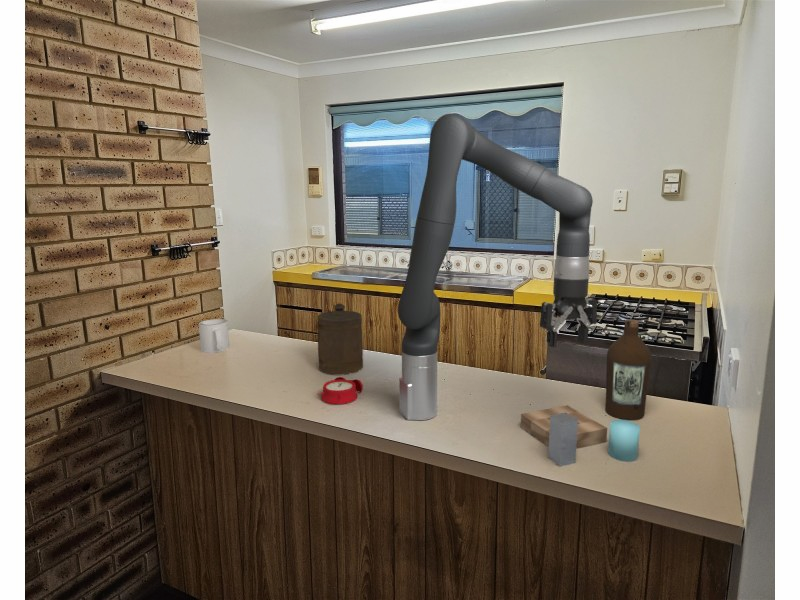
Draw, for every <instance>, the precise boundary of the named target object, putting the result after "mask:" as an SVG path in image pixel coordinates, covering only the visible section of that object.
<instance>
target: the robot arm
mask: <svg viewBox="0 0 800 600" xmlns="http://www.w3.org/2000/svg"><path fill="white" fill-rule="evenodd" d="M428 146H429V147H428V157H427V158H428V160H427V166H426V167H427V168H426V173H425V174H426V175H425V176H426V177H425V179H424V184H423V188H422V192H421V197H420V200H419V201H420V202H419V206H418V210H417V211H418V212H417V215H416V219H415V220H416V221H415V223H414V225H415V226H414V232H413V237H412V244H411V249H410V256H409V264H408V270H407V274H406V277H405V280H404V284H403V287H402V291H401V293H400V294H401V295H400V297H399V300H398V303H397V305H398V306H397V314H398V318H399V320H400V322H401V323H402V325H403V326H405V331H404V335H403V338H402V340H401V377H399V380H398V381H399V386H398V388H399V390H398V391H399V392H398V393H399V394H398V395H399V413H400V414H401V415H402V416H403V417H404V418H405V419H406V420H407V421H411V420H412V421H425V420H430V419H433V418H435V417H436V416H437V415H438V347H439V345H438V344H439V340H440V334H441V303H440V299H439V297H438V296H437V294H436V293H435V286H436V282H437V278H438V274H439V272H440V269H441V267H442V264H443V262H444V260H445V258H446V256H447V253H448V251H449V248H450V245H451V242H452V238H453V233H454V228H455V223H456V218H457V181H458V175H459V171H460V167H461V163H462V161H465V162H467V163H468V162H469V163H470V164H474V165H476V166H479V167H480V168H483V169H484V170H486V171H488V172H490V173H492V174H493V175H494V176H496V177H497V178H499V179H500V180H501V181H503V182H504V183H506V184H507V185H509V186H511V187H512V188H515V189H516V190H518V191H520V192H522V193H524V194H525V195H527V196H529V197H532V199H536V200H538V201H541V202H542V203H544V204H545V205H547V206H548V207H550V208H551V209H553V210H554V211H556V212H558V213H559V214H558V217H559V218H558V221H559V222H558V223H559V224H558V225H559V226H558V233H557V240H556V256H555V261H554V267H553V268H554V272H553V287H552V288H553V290H552V293H553V296H554V300H553V302H546V301H543V302H542V303H541V310H540V317H539V319H540V320H539V326H540V328H542V329H544V330H546V331H547V335H546V343H547V344H548V346H549V347H551V348H556V347H557V345H558V331H557V330H558V329H559V328H560V326H561V325H563V324H564V322H565V321H570V320H576V321H577V323H578V324H579V325H578V329H577V330H578V333H577V341H578V343H581V344H587V341H588V338H589V328H590V327H591V325H596V324H597V322H598V316H597V315H598V300H597V299H596V298H592V297H587V296H588V295H589V294H588V293H589V279H590V278H589V277H590V247H591V244H590V243H591V241H590V240H591V239H590V224H591V216H592V214H591V213H592V207H593V203H594V201H593V200H594V199H593V196H592V193H591V192H590V190H589V189H587V188H586V187H585V186H582V185H580V184H578V183H576V182H574V181H571V180H569V179H567V178H565V177H563V176H561V175H558V174H557V173H556V172H555V171H553V170H552V169H549V168H548V167H546V166H544V165H542V164H541V163H538V162H536V161H535V160H533V159H531V158H529V157H527V156H524V155H522V154H520V153H517V152H516V151H513V150H511V149H508V148H506V147H504V146H503V145H500V144H498V143H496V142H495V141H494V140H491V139H490V138H488V137H486V135H484V134H483V133H481V132H480V131H479V130H478V129H477V128H476V127H474V126H473V125H472V123H470V121H469V120H467V119H465V118H464V117H463V116H460V115H459V114H457V113H446V114H443V115H441V116H440V117H438V119H437V120H436V121H435V122H434V123H433V126H432V128H431V131H430V137H429V145H428ZM586 297H587V298H586ZM584 309H585V311H584Z"/></svg>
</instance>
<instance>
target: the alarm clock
mask: <svg viewBox="0 0 800 600" xmlns="http://www.w3.org/2000/svg"><path fill="white" fill-rule="evenodd" d="M363 389H364V385H363V382H362V381H361V380H359V379H357V378H356V379H346V378H345V377H343V376H342V377H341V376H339V377H336V378H335V379H332V380H329V381H327V382H325V383H323V386H322V390H323V391H322V392H319V393H317V396H319V395H321V398H320V399H321V401H322V402H323V401H324V403H325V402H326V404H328V405H329V404H332V405H344V404H345V405H346V404H349V403H353V402H355V401H356V400H358V398H359V397H358V396H359V395H358V394H361V393H362V391H363ZM358 391H359V392H358Z"/></svg>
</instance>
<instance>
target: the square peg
mask: <svg viewBox="0 0 800 600" xmlns="http://www.w3.org/2000/svg"><path fill="white" fill-rule="evenodd" d="M577 430H578V419H576V418H575V417H573V416H571V415H569V414H568V413H566V412H565V413H560V414H554V415H550V434H549V447H548V455H547V456H548V457H547V458H548V459H549V460H550V461H552V462H553V463H554V464H556V465H558V467H559V468H560V467H564V466H570V465H572V464H576V457H577V449H576V445H577Z"/></svg>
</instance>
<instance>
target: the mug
mask: <svg viewBox="0 0 800 600" xmlns="http://www.w3.org/2000/svg"><path fill="white" fill-rule="evenodd" d="M228 327H229V325H228V320H227V319H226V318H225V319H223V318H212V319H205V320H201V321H200V322H198V331H199V344H200V351H202V352H201V353H203V352H205V353H204V354H215V353H214V352H219V353H221V352H220V351H224V350H226V349H228V348H229V349H230V338H229V328H228ZM229 349H228V350H229ZM226 351H227V350H226ZM224 352H225V351H224Z"/></svg>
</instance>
